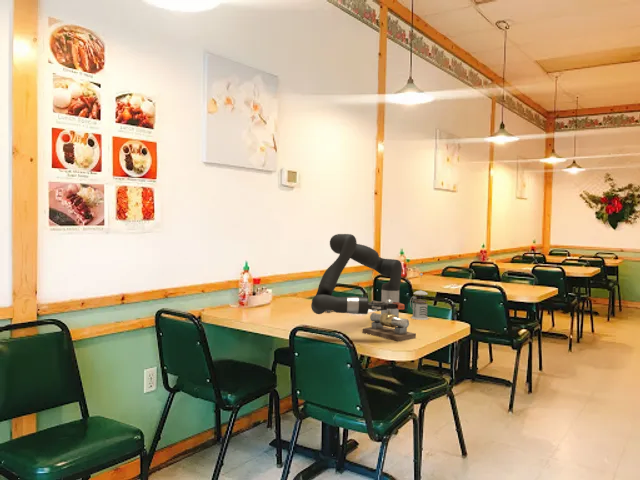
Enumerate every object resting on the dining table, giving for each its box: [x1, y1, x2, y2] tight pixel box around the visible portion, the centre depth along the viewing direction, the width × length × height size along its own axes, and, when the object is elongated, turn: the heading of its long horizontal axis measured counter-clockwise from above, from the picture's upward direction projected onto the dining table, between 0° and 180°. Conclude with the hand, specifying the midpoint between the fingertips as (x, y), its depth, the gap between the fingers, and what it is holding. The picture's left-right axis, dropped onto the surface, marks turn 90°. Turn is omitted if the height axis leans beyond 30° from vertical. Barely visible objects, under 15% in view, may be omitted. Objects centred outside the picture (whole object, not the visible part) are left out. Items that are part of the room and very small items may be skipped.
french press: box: [409, 272, 429, 321], centre depth 284 cm, size 10×12×25 cm
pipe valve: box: [369, 309, 410, 335], centre depth 239 cm, size 20×6×12 cm, turn 42°
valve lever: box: [386, 299, 405, 310], centre depth 232 cm, size 3×16×2 cm, turn 13°
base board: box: [361, 326, 417, 342], centre depth 239 cm, size 22×12×2 cm, turn 42°
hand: (395, 306), depth 227 cm, fingers closed
